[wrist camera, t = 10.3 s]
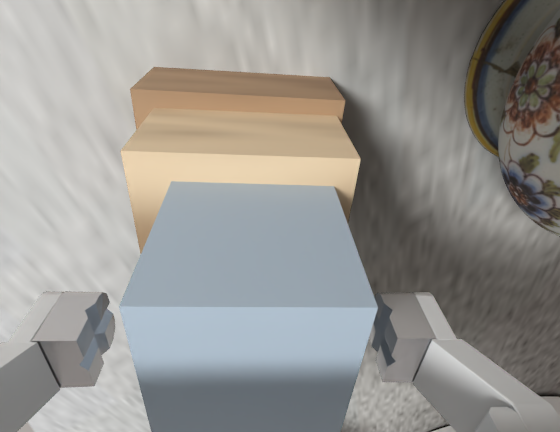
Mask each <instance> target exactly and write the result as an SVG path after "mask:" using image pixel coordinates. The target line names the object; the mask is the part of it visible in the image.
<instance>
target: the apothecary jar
mask: <svg viewBox="0 0 560 432" xmlns="http://www.w3.org/2000/svg"><path fill="white" fill-rule="evenodd" d="M464 103H465V111H466V116H467V120H468V123H469V126H470V128H471V130H472V132H473V134H474V136H475V137H476V139H477V140H478V141H479V143H480V144H481V145H482V146H483V147H484V148H485V149H487V150H488V151H489V152H491V153H492V154H494V155H496V156H497V157H499V161H500V167H501V171H502V175H503V178H504V181H505V184H506V186H507V188H508V190H509V192H510V194H511V196H512V198H513V199H514V201H515V202H516V203H517V205H518V206H519V207H520V209H521V210H522V211H523V212H524V213H525V214H526V215H527V216H528V217H529V218H530V219H531V220H533V221H534V222H535V223H537V224H538V225H539V226H541V227H542V228H544V229H546V230H548V231H549V232H551V233H553V234H555V235H557V236H559V237H560V0H505V1H504V2H503V4H502V5H501V6H500V8H499V9H498V10H497V12H496V13H495V15H494V16H493V18H492V19H491V20H490V22H489V23H488V25H487V27H486V28H485V30H484V32H483V34H482V35H481V37H480V39H479V41H478V44H477V46H476V48H475V51H474V54H473V56H472V58H471V60H470V64H469V68H468V72H467V76H466V82H465V92H464Z"/></svg>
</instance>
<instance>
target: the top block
mask: <svg viewBox="0 0 560 432" xmlns="http://www.w3.org/2000/svg"><path fill="white" fill-rule="evenodd" d="M121 156H122V161H123V166H124V171H125V176H126V181H127V186H128V191H129V197H130V202H131V207H132V212H133V217H134V222H135V227H136V232H137V237H138V243H139V248H140V253H142V250H143V248H144V246H145V243H146V241H147V238H148V236H149V234H150V231H151V229H152V226H153V224H154V222H155V219H156V217H157V214H158V212H159V210H160V207H161V205H162V202H163V200H164V198H165V195H166V193H167V190H168V188H169V186H170V183H171V181H178V182H211V183H244V184H277V185H310V186H334V187H335V190H336V193H337V196H338V198H339V201H340V204H341V207H342V209H343V212H344V215H345V218H346V220H347V223H348V221H349V216H350V211H351V206H352V201H353V196H354V191H355V186H356V181H357V176H358V170H359V165H360V160H361V158H360V157H359V155H358V153H357V151H356V149H355V148H354V146H353V144H352V142H351V140H350V139H349V137H348V135H347V133H346V131H345V130H344V128H343V126H342V124H341V122H340V121H339V119H338V117H337V116H330V115H307V114H283V113H260V112H237V111H213V110H190V109H166V108H153V110H152V111H151V112H150V113H149V115H148V116H147V117H146V119H145V120H144V121H143V122H142V124H141V125H140V126H139V128H138V129H137V130H136V132H135V133H134V134H133V135H132V137H131V138H130V139H129V141H128V142H127V143H126V144H125V146H124V147H123V148H122V150H121Z"/></svg>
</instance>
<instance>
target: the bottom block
mask: <svg viewBox="0 0 560 432" xmlns="http://www.w3.org/2000/svg"><path fill="white" fill-rule="evenodd" d="M130 91H131V97H132V104H133V110H134V117H135V123H136V129H138V128H139V126H140V125H141V124H142V122H143V121H144V120H145V119H146V117H147V116H148V115H149V113H150V112H151V111H152V110H153V108H166V109H190V110H213V111H237V112H260V113H283V114H307V115H330V116H337V117H338V119H339V121H340V122H341V124H342V118H343V112H344V106H345V99H344V98H343V96H342V95H341V93H340V92H339V91H338V89H337V88H336V86H335V85H334V83H333V82H332V80H331V79H330V77H314V76H297V75H280V74H264V73H247V72H230V71H213V70H196V69H180V68H163V67H154V68H153V69H151V70H150V71H149V72H148V73H147V74H146V75H145V76H144V77H143V78H142V79H140V80H139V81H138V82H137V83H136V84H135V85H134V86H133V87H132V88H131V89H130Z"/></svg>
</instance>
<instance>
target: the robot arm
mask: <svg viewBox="0 0 560 432" xmlns="http://www.w3.org/2000/svg"><path fill="white" fill-rule="evenodd" d="M374 298H375V301H376V303H377V306H378V309H377V313H376V316H375V319H374V323H373V326H372V329H371V333H370V336H369V339H370V343H371V346H372V347H373V348H374V349H375V350H376V351H377V352H378V354H377V357H376V363H377V366H378V369H379V373H380V376H381V379H382V382H413V385H414V386H415V387H416V388H417V389H418V390H419V391H420V392H421V394H422V395H423V396H424V397H425V398H426V399H427V400H428V401H429V402H430V403H431V405H432V406H433V407H434V408H435V409H436V410H437V411H438V412H439V413H440V414H441V415H442V417H443V418H444V419H445V420H446V421H447V422H448V423H449V424H450V425H451V426H447V427H444V428H441V429H438V430H435V431H432V432H560V397H540V396H539V395H537V394H536V393H535V392H533V391H532V390H531V389H529V388H528V387H527V386H525V385H524V384H522V383H521V382H520V381H518V380H517V379H516V378H514V377H513V376H512V375H510V374H509V373H508V372H506V371H505V370H503V369H502V368H501V367H499V366H498V365H497V364H495V363H494V362H493V361H491V360H490V359H489V358H487V357H486V356H485V355H483V354H482V353H480V352H479V351H478V350H476V349H475V348H474V347H472V346H471V345H470V344H468V343H467V342H466V341H464V340H463V339H457V338H456V336H455V334H454V332H453V331H452V329H451V327H450V325H449V323H448V322H447V320H446V318H445V316H444V314H443V313H442V311H441V309H440V307H439V305H438V304H437V302H436V300H435V298H434V296H433V295H432V294H431V293H430V292H412V293H410V292H396V293H377V294H376V295H375V297H374ZM108 305H109V299H108V296H107V293H103V292H68V291H65V292H55V291H46V292H44V293H43V294H41V295H40V296H39V297H38V299H37V300H36V302H35V303H34V305H33V306H32V308H31V309H30V310H29V312H28V313H27V315H26V316H25V318H24V319H23V321H22V322H21V324H20V325H19V326H18V328H17V329H16V331H15V332H14V334H13V335H12V337H11V338H10V340H9V341H8V342H1V343H0V432H17V431H18V430H19V429H20V428H21V427H22V426H23V425H24V424H25V423H26V422H27V421H28V420H29V419H30V418H32V417H33V416H34V415H35V414H36V413H37V412H38V411H39V410H40V409H41V408H42V407H43V406H44V405H45V404H46V403H47V402H48V401H49V400H50V399H51V398H52V397H53V396H54V395H55V394H56V393H57V392H58V391H59V390H60V388H64V387H87V386H95V384H96V381H97V379H98V376H99V374H100V371H101V369H102V367H103V364H104V362H103V359H102V356H101V355H102V354H103V353H105V352H106V351H107V350H108V349H109V348H110V346H111V344H112V341H113V338H114V332H115V319H114V316H113V313H112V312H110V311H109V310H108V309H107V307H108Z"/></svg>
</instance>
